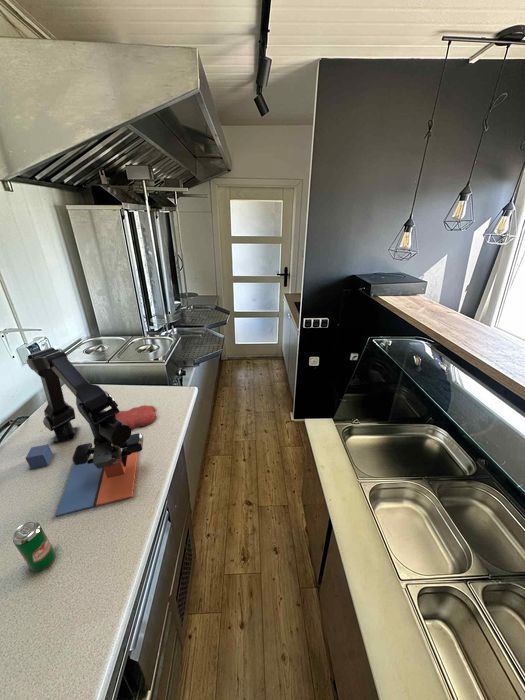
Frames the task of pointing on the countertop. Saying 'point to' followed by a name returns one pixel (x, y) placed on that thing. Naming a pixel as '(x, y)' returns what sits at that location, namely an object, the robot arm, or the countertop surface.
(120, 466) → the terracotta block
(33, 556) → the soda can
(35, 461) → the slate-blue block
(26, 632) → the countertop surface
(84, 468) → the sorting mat
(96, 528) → the countertop surface
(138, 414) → the red lumpy blob
